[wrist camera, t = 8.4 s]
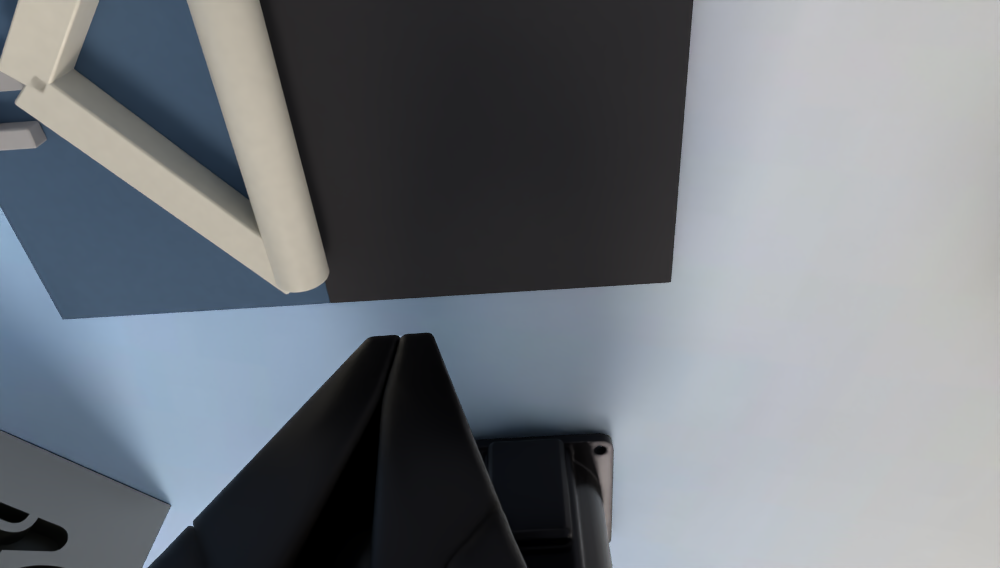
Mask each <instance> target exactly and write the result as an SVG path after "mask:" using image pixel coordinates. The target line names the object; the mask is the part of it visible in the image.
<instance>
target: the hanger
mask: <svg viewBox="0 0 1000 568" xmlns="http://www.w3.org/2000/svg"><path fill="white" fill-rule="evenodd" d="M98 3H99V0H18V3H17V6H16V9H15V13H14V16H13V19H12V22H11V26H10V29H9V32H8V35H7V38H6V42H5V45H4V48H3V51H2V55H1V58H0V92H1V91H15V90H21V92H20V94H19V95H18V97H17V98H16V100H15V104H16V105H17V106H18V107H20V108H21V109H23V110H24V111H25V112H27V113H28V114H30V115H31V116H33V117H34V118H35V119H37V120H38V121H40V122H41V123H43V124H44V125H45V126H47V127H48V128H50V129H51V130H52V131H54V132H55V133H57V134H58V135H60V136H61V137H62V138H64V139H65V140H67V141H68V142H70V143H71V144H72V145H74V146H75V147H77V148H78V149H80V150H81V151H82V152H84V153H85V154H87V155H88V156H90V157H91V158H92V159H94V160H95V161H97V162H98V163H100V164H101V165H102V166H104V167H105V168H107V169H108V170H109V171H111V172H112V173H114V174H115V175H117V176H118V177H119V178H121V179H122V180H124V181H125V182H127V183H128V184H129V185H131V186H132V187H134V188H135V189H137V190H138V191H139V192H141V193H142V194H144V195H145V196H147V197H148V198H149V199H151V200H152V201H154V202H155V203H157V204H158V205H159V206H161V207H162V208H164V209H165V210H166V211H168V212H169V213H171V214H172V215H174V216H175V217H176V218H178V219H179V220H181V221H182V222H184V223H185V224H186V225H188V226H189V227H191V228H192V229H194V230H195V231H196V232H198V233H199V234H201V235H202V236H204V237H205V238H206V239H208V240H209V241H211V242H212V243H213V244H215V245H216V246H218V247H219V248H221V249H222V250H223V251H225V252H226V253H228V254H229V255H231V256H232V257H233V258H235V259H236V260H238V261H239V262H241V263H242V264H243V265H245V266H246V267H248V268H249V269H251V270H252V271H253V272H255V273H256V274H258V275H259V276H261V277H262V278H263V279H265V280H266V281H268V282H269V283H270V284H272V285H273V286H275V287H276V288H278V289H279V290H280V291H282V292H283V293H285V294H289V293H290V292H293V293H294V292H304V291H308V290H311V289H314V288H316V287H318V286H319V285H321V284H322V283H323V282H325V280H326V279H327V278H328V275H329V267H328V264H327V260H326V256H325V252H324V248H323V244H322V240H321V237H320V233H319V229H318V225H317V221H316V217H315V213H314V210H313V206H312V202H311V198H310V194H309V190H308V186H307V183H306V179H305V175H304V171H303V167H302V163H301V159H300V156H299V152H298V148H297V144H296V140H295V136H294V132H293V128H292V125H291V121H290V117H289V113H288V109H287V105H286V101H285V98H284V94H283V90H282V86H281V82H280V78H279V74H278V71H277V67H276V63H275V59H274V55H273V51H272V47H271V44H270V40H269V36H268V32H267V28H266V24H265V20H264V16H263V13H262V9H261V5H260V1H259V0H187V3H188V6H189V9H190V13H191V16H192V19H193V22H194V25H195V28H196V32H197V35H198V38H199V41H200V44H201V47H202V51H203V54H204V57H205V60H206V63H207V66H208V70H209V73H210V76H211V79H212V82H213V85H214V89H215V92H216V95H217V98H218V101H219V104H220V108H221V111H222V114H223V117H224V120H225V123H226V127H227V130H228V133H229V136H230V139H231V142H232V146H233V149H234V152H235V155H236V158H237V161H238V165H239V168H240V171H241V174H242V177H243V180H244V183H245V187H246V190H247V193H248V196H249V199H250V200H248V199H247V198H246V197H244V196H243V195H242V194H240V193H239V192H238V191H236V190H235V189H234V188H232V187H231V186H230V185H228V184H227V183H226V182H224V181H223V180H222V179H220V178H219V177H218V176H216V175H215V174H214V173H212V172H211V171H210V170H208V169H207V168H206V167H204V166H203V165H202V164H200V163H199V162H198V161H196V160H195V159H194V158H192V157H191V156H190V155H188V154H187V153H186V152H184V151H183V150H182V149H180V148H179V147H178V146H176V145H175V144H174V143H172V142H171V141H170V140H168V139H167V138H166V137H164V136H163V135H162V134H160V133H159V132H158V131H156V130H155V129H154V128H152V127H151V126H150V125H148V124H147V123H146V122H144V121H143V120H142V119H140V118H139V117H138V116H136V115H135V114H134V113H132V112H131V111H130V110H128V109H127V108H126V107H124V106H123V105H122V104H120V103H119V102H118V101H116V100H115V99H114V98H112V97H111V96H110V95H108V94H107V93H106V92H104V91H103V90H102V89H100V88H99V87H98V86H96V85H95V84H94V83H92V82H91V81H90V80H88V79H87V78H86V77H84V76H83V75H82V74H80V73H79V72H78V71H76V70H75V69H74V67H75V64H76V62H77V59H78V56H79V54H80V51H81V48H82V46H83V43H84V40H85V37H86V35H87V32H88V29H89V27H90V24H91V21H92V19H93V16H94V13H95V11H96V8H97V5H98ZM38 121H26V122H12V123H0V151H1V150H16V149H30V148H37V147H38V146H40V145H41V144H42V143H44V142H45V141H46V140H47V139H46V136H45V134H44V132H43V130H42V128H41V126H40V124H39V122H38Z"/></svg>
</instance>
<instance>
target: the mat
mask: <svg viewBox="0 0 1000 568" xmlns="http://www.w3.org/2000/svg"><path fill="white" fill-rule="evenodd" d="M259 1H260V5H261V9H262V13H263V16H264V20H265V24H266V28H267V32H268V36H269V40H270V44H271V47H272V51H273V55H274V59H275V63H276V67H277V71H278V74H279V78H280V82H281V86H282V90H283V94H284V98H285V101H286V105H287V109H288V113H289V117H290V121H291V125H292V128H293V132H294V136H295V140H296V144H297V148H298V152H299V156H300V159H301V163H302V167H303V171H304V175H305V179H306V183H307V186H308V190H309V194H310V198H311V202H312V206H313V210H314V213H315V217H316V221H317V225H318V229H319V233H320V237H321V240H322V244H323V248H324V252H325V256H326V260H327V264H328V267H329V275H328V278H327V279H326V280H325V282H323V283H322V284H321V285H319V286H318V287H316V288H314V289H311V290H308V291H304V292H294V293H293V292H290V293H289V294H285V293H283V292H282V291H280V290H279V289H278V288H276V287H275V286H273V285H272V284H270V283H269V282H268V281H266V280H265V279H263V278H262V277H261V276H259V275H258V274H256V273H255V272H253V271H252V270H251V269H249V268H248V267H246V266H245V265H243V264H242V263H241V262H239V261H238V260H236V259H235V258H233V257H232V256H231V255H229V254H228V253H226V252H225V251H223V250H222V249H221V248H219V247H218V246H216V245H215V244H213V243H212V242H211V241H209V240H208V239H206V238H205V237H204V236H202V235H201V234H199V233H198V232H196V231H195V230H194V229H192V228H191V227H189V226H188V225H186V224H185V223H184V222H182V221H181V220H179V219H178V218H176V217H175V216H174V215H172V214H171V213H169V212H168V211H166V210H165V209H164V208H162V207H161V206H159V205H158V204H157V203H155V202H154V201H152V200H151V199H149V198H148V197H147V196H145V195H144V194H142V193H141V192H139V191H138V190H137V189H135V188H134V187H132V186H131V185H129V184H128V183H127V182H125V181H124V180H122V179H121V178H119V177H118V176H117V175H115V174H114V173H112V172H111V171H109V170H108V169H107V168H105V167H104V166H102V165H101V164H100V163H98V162H97V161H95V160H94V159H92V158H91V157H90V156H88V155H87V154H85V153H84V152H82V151H81V150H80V149H78V148H77V147H75V146H74V145H72V144H71V143H70V142H68V141H67V140H65V139H64V138H62V137H61V136H60V135H58V134H57V133H55V132H54V131H52V130H51V129H50V128H48V127H47V126H45V125H44V124H43V123H41V122H40V121H38V120H37V119H35V118H34V117H33V116H31V115H30V114H28V113H27V112H25V111H24V110H23V109H21V108H20V107H18V106H17V105H16V104H15V100H16V98H17V97H18V95H19V94H20V92H21V90H15V91H1V92H0V123H12V122H26V121H38V122H39V124H40V126H41V128H42V130H43V132H44V134H45V136H46V139H47V140H46V141H45V142H44V143H42V144H41V145H40V146H38V147H37V148H30V149H16V150H1V151H0V207H1V209H2V210H3V212H4V214H5V216H6V218H7V219H8V221H9V223H10V225H11V227H12V228H13V230H14V232H15V234H16V236H17V237H18V239H19V241H20V243H21V245H22V246H23V248H24V250H25V252H26V254H27V255H28V257H29V259H30V261H31V263H32V265H33V266H34V268H35V270H36V272H37V274H38V275H39V277H40V279H41V281H42V283H43V284H44V286H45V288H46V290H47V292H48V293H49V295H50V297H51V299H52V301H53V302H54V304H55V306H56V308H57V310H58V311H59V313H60V315H61V317H62V319H77V318H93V317H110V316H126V315H142V314H159V313H175V312H192V311H208V310H224V309H241V308H257V307H273V306H290V305H306V304H323V303H339V302H355V301H372V300H388V299H405V298H421V297H437V296H454V295H470V294H486V293H503V292H519V291H536V290H552V289H568V288H585V287H601V286H617V285H634V284H650V283H667V282H671V273H672V261H673V248H674V235H675V223H676V210H677V198H678V185H679V172H680V160H681V147H682V135H683V122H684V109H685V97H686V84H687V72H688V59H689V46H690V34H691V21H692V9H693V0H259ZM17 3H18V0H0V58H1V55H2V51H3V48H4V45H5V42H6V38H7V35H8V32H9V29H10V26H11V22H12V19H13V16H14V13H15V9H16V6H17ZM74 69H75V70H76V71H78V72H79V73H80V74H82V75H83V76H84V77H86V78H87V79H88V80H90V81H91V82H92V83H94V84H95V85H96V86H98V87H99V88H100V89H102V90H103V91H104V92H106V93H107V94H108V95H110V96H111V97H112V98H114V99H115V100H116V101H118V102H119V103H120V104H122V105H123V106H124V107H126V108H127V109H128V110H130V111H131V112H132V113H134V114H135V115H136V116H138V117H139V118H140V119H142V120H143V121H144V122H146V123H147V124H148V125H150V126H151V127H152V128H154V129H155V130H156V131H158V132H159V133H160V134H162V135H163V136H164V137H166V138H167V139H168V140H170V141H171V142H172V143H174V144H175V145H176V146H178V147H179V148H180V149H182V150H183V151H184V152H186V153H187V154H188V155H190V156H191V157H192V158H194V159H195V160H196V161H198V162H199V163H200V164H202V165H203V166H204V167H206V168H207V169H208V170H210V171H211V172H212V173H214V174H215V175H216V176H218V177H219V178H220V179H222V180H223V181H224V182H226V183H227V184H228V185H230V186H231V187H232V188H234V189H235V190H236V191H238V192H239V193H240V194H242V195H243V196H244V197H246V198H247V199H248V200H250V199H249V196H248V193H247V190H246V187H245V183H244V180H243V177H242V174H241V171H240V168H239V165H238V161H237V158H236V155H235V152H234V149H233V146H232V142H231V139H230V136H229V133H228V130H227V127H226V123H225V120H224V117H223V114H222V111H221V108H220V104H219V101H218V98H217V95H216V92H215V89H214V85H213V82H212V79H211V76H210V73H209V70H208V66H207V63H206V60H205V57H204V54H203V51H202V47H201V44H200V41H199V38H198V35H197V32H196V28H195V25H194V22H193V19H192V16H191V13H190V9H189V6H188V3H187V0H99V3H98V5H97V8H96V11H95V13H94V16H93V19H92V21H91V24H90V27H89V29H88V32H87V35H86V37H85V40H84V43H83V46H82V48H81V51H80V54H79V56H78V59H77V62H76V64H75V67H74Z"/></svg>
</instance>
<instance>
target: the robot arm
mask: <svg viewBox="0 0 1000 568" xmlns="http://www.w3.org/2000/svg"><path fill="white" fill-rule="evenodd" d="M597 446H602V447H597ZM612 486H613V445H612V440H611V438H610V437H609V436H608V435H606V434H601V433H596V434H576V435H557V436H537V437H518V438H499V439H479V440H475V439H474V437H473V434H472V432H471V429H470V427H469V424H468V422H467V419H466V417H465V414H464V412H463V409H462V407H461V404H460V402H459V399H458V397H457V394H456V392H455V389H454V386H453V384H452V381H451V379H450V376H449V374H448V371H447V369H446V366H445V364H444V361H443V359H442V356H441V354H440V351H439V349H438V346H437V344H436V341H435V339H434V336H433V335H432V334H430V333H417V334H405V335H403V336H402V337H401V338H400V337H399V336H397V335H387V336H373V337H370V338H368V339H366V340H365V341H364V342H363V343H362V344H361V345H360V347H359V348H358V349H357V350H356V351H355V352H354V353H353V354H352V355H351V356H350V357H349V358H348V359H347V360H346V361H345V362H344V363H343V364H342V365H341V366H340V368H339V369H338V370H337V371H336V372H335V373H334V374H333V375H332V376H331V377H330V378H329V379H328V380H327V381H326V382H325V383H324V384H323V385H322V386H321V387H320V388H319V390H318V391H317V392H316V393H315V394H314V395H313V396H312V397H311V398H310V399H309V400H308V401H307V402H306V403H305V404H304V405H303V406H302V407H301V408H300V409H299V411H298V412H297V413H296V414H295V415H294V416H293V417H292V418H291V419H290V420H289V421H288V422H287V423H286V424H285V425H284V426H283V427H282V428H281V429H280V430H279V431H278V433H277V434H276V435H275V436H274V437H273V438H272V439H271V440H270V441H269V442H268V443H267V444H266V445H265V446H264V447H263V448H262V449H261V450H260V451H259V452H258V454H257V455H256V456H255V457H254V458H253V459H252V460H251V461H250V462H249V463H248V464H247V465H246V466H245V467H244V468H243V469H242V470H241V471H240V472H239V473H238V474H237V476H236V477H235V478H234V479H233V480H232V481H231V482H230V483H229V484H228V485H227V486H226V487H225V488H224V489H223V490H222V491H221V492H220V493H219V494H218V495H217V497H216V498H215V499H214V500H213V501H212V502H211V503H210V504H209V505H208V506H207V507H206V508H205V509H204V510H203V511H202V512H201V513H200V514H199V515H198V516H197V517H196V519H195V520H194V521H193V526H194V527H193V526H188V527H187V528H186V529H185V530H184V531H183V532H182V533H181V534H180V535H179V536H178V537H177V538H176V539H175V540H174V541H173V542H172V543H171V544H170V545H169V547H168V548H167V549H166V550H165V551H164V552H163V553H162V554H161V555H160V556H159V557H158V558H157V559H156V560H155V561H154V562H153V563H152V564H151V565H150V566H149V567H148V568H612V561H611V554H610V547H609V542H610V541H611V524H612Z"/></svg>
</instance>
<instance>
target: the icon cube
mask: <svg viewBox="0 0 1000 568" xmlns="http://www.w3.org/2000/svg"><path fill="white" fill-rule="evenodd" d="M170 507H171V505H168V504H166V503H164V502H162V501H159V500H157V499H155V498H153V497H150V496H148V495H146V494H143V493H141V492H139V491H137V490H134V489H132V488H130V487H128V486H125V485H123V484H121V483H118V482H116V481H114V480H112V479H109V478H107V477H105V476H103V475H100V474H98V473H96V472H93V471H91V470H89V469H87V468H84V467H82V466H80V465H78V464H75V463H73V462H71V461H69V460H66V459H64V458H62V457H59V456H57V455H55V454H53V453H50V452H48V451H46V450H44V449H41V448H39V447H37V446H34V445H32V444H30V443H28V442H25V441H23V440H21V439H19V438H16V437H14V436H12V435H9V434H7V433H5V432H3V431H0V568H142V567H143V565H144V562H145V560H146V558H147V556H148V554H149V552H150V550H151V548H152V545H153V543H154V541H155V539H156V537H157V535H158V533H159V531H160V528H161V526H162V524H163V522H164V520H165V518H166V516H167V513H168V511H169V509H170Z"/></svg>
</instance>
